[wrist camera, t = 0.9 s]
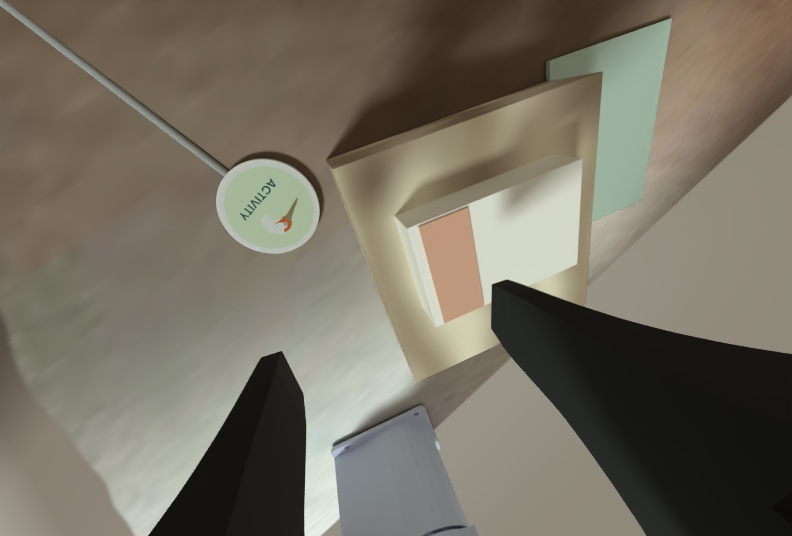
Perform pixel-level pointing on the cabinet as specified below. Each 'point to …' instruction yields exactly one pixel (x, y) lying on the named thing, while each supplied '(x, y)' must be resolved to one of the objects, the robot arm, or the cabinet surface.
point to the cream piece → (455, 170)
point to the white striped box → (493, 235)
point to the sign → (233, 179)
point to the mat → (621, 109)
